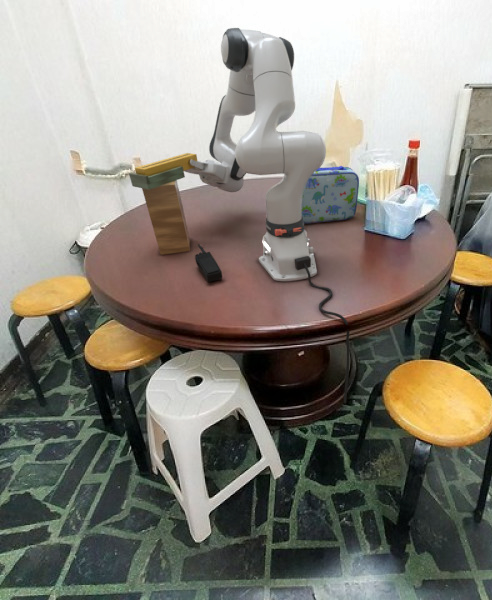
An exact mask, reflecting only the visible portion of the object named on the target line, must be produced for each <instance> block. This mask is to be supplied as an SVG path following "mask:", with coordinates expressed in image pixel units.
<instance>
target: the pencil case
mask: <svg viewBox="0 0 492 600" xmlns="http://www.w3.org/2000/svg"><path fill="white" fill-rule="evenodd" d="M189 159H191V160H194V161H197V162H198V161H199V160H198V156H197V154H196V153H191V152H185V153H182V154H178V155H175V156H171V157H168V158H164V159H161V160H156V161H154V162H151V163H147V164H146V163H145V164H143V165H140V166H137V167H134V170H135V173H136V174H141V175H146V176H151V175H154V174H158V173H161V172H164V171H167V170H170V169H174V168H177V167H180V166H182V167H183V171H184V172H185V170H188V169H191V168H194V166H191V165H189V164H188V162H189Z"/></svg>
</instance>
